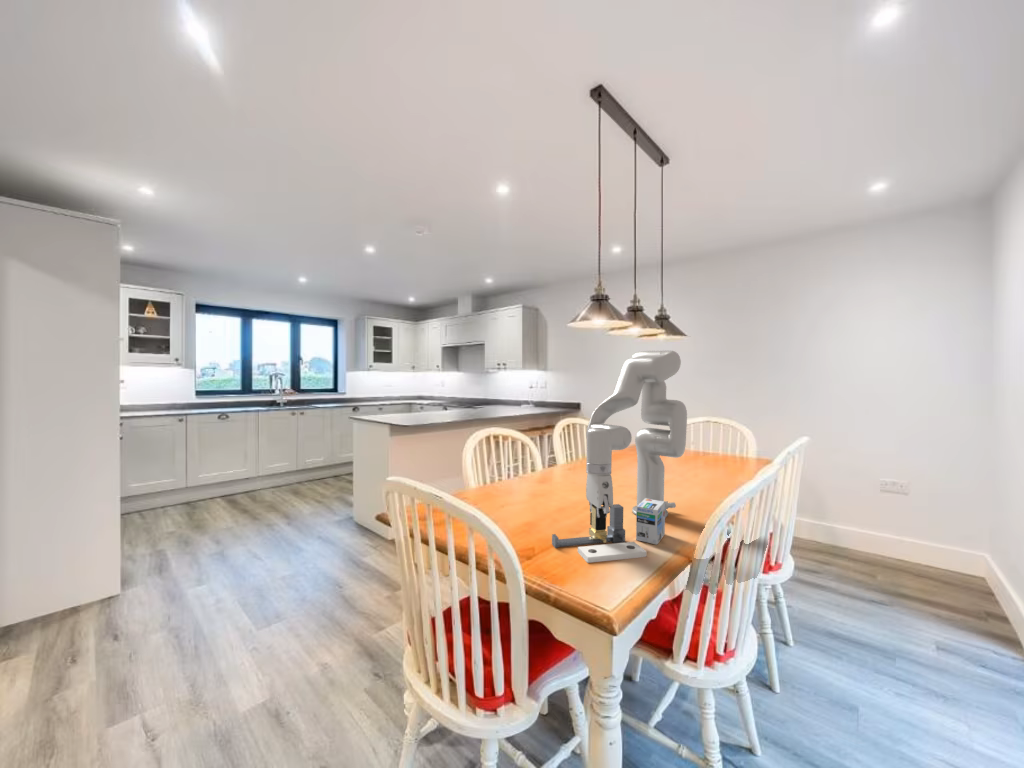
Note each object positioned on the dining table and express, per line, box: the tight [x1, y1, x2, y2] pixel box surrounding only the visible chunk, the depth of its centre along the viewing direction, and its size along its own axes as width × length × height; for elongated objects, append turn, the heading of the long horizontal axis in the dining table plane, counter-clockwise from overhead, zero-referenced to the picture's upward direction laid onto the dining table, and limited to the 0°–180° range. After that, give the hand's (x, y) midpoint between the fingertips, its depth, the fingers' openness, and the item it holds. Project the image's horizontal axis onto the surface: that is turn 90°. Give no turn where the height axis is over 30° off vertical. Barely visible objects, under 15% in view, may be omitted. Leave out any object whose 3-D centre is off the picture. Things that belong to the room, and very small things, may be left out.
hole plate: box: [577, 541, 647, 564], centre depth 122 cm, size 18×7×2 cm, turn 103°
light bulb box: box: [635, 498, 666, 546], centre depth 135 cm, size 11×7×11 cm, turn 148°
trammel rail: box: [551, 503, 626, 549], centre depth 128 cm, size 22×7×11 cm, turn 103°
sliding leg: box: [588, 506, 607, 544], centre depth 129 cm, size 4×7×9 cm, turn 13°
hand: (597, 526), depth 131 cm, fingers closed on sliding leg, 3 cm apart
